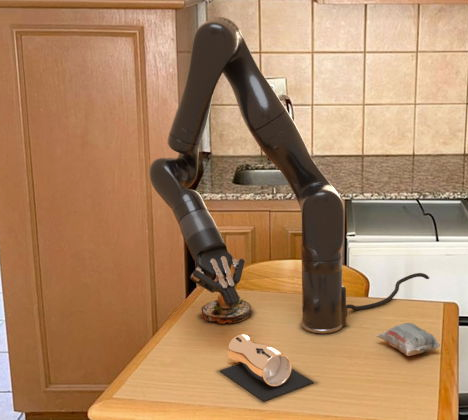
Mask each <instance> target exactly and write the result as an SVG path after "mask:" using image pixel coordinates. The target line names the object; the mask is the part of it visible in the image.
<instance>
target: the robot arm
mask: <svg viewBox="0 0 468 420" xmlns="http://www.w3.org/2000/svg"><path fill="white" fill-rule="evenodd" d="M189 61H190V62H189V67H188V71H187V77H186V81H185V85H184V88H183V90H182V91H183V92H182V94H181V97H180V100H179V103H178V106H177V109H176V112H175V115H174V116H173V117H174V118H173V120H172V123H171V126H170V130H169V132H168V133H169V134H168V136H167V145H168V147H169V148H170V149H171V150H172V151H174V152H176V153H178V155H177V157H158V158H156V159H154V160H153V161H152V162H151V164H150V166H149V169H148V177H149V181H150V183H151V186H152V187H153V189H154V190H155V192H156V194H158V196H159V197H161V199H162V200H163V201H164V202H165V204H166V205H167V206H168V207H169V208H170V209H171V211H172V213H173V215H174V218H175V220H176V222H177V224H178V227H179V229H180V233H181V236H182V238H183V240H184V242H185V244H186V246H187V248H188V252H189V253H190V255H191V257H192V259H193V261H194V262H195V263H194V264H195V270H193V272H192V273H191V275H190V276H189V279H190V280H191V281H192V282H194V283H195V284H197V285H199V286H200V287H202V288H203V289H205V290H207V291H208V292H210V293H212V294H214V293H219V295H220V294H221V295H222V298H223V300H224V302H225V304H226V305H227V306H229V308H232V307H235V306H237V305H238V304H239V300H241V299H240V298H239V297H240V296H239V294H238V291H237V290H236V287H237V285H238V284H239V283H240V282H241V279H242V275H243V272H244V271H243V270H244V266H245V259H243V258H240V259H237V258H234V257H233V255H232V254H231V253H230V252H229V251H228V248H227V244H226V242H225V240H224V238H223V236H222V234H221V232H220V230H219V228H218V226H217V224H216V221H215V219H214V218H213V216H212V215H211V213H210V211H209V209H208V208H207V206H206V203H205V202H204V199H203V197H202V196H201V194H200V193H199V191H197V190H195V189H191V188H190V187H192V185H194V183H195V182H196V180H197V177H198V170H199V151H200V145H201V143H202V140H203V137H204V134H205V131H206V128H207V124H208V121H209V117H210V112H211V106H212V103H213V102H212V101H213V97H214V94H215V90H216V87H217V85H218V83H219V80H220V78H221V76H222V74H223V76H224V77H225V78H226V80H227V82H228V83H229V86H230V88H231V90H232V91H233V94H234V97H235V101H236V103H237V106H238V109H239V111H240V115H241V117H242V120H243V122H244V124H245V126H246V127H247V129H248V131H249V133H250V134H251V136H252V138H253V139H254V140H255V142H256V143H257V145H258V147H259V148H260V149H261V151H262V152H263V153H264V155H265V156H266V157H267V158H268V159H269V161H270V162H271V163H272V164H273V166H275V167H276V168H277V169H278V170H279V171H280V172H281V174H282V175H283V177H284V178H285V180H286V182H287V183H288V184H289V186H290V189H291V191H292V192H293V194H294V196H295V198H296V201H297V202H298V205H299V209H300V212H301V245H300V248H301V249H300V250H301V251H300V252H301V253H300V254H301V255H300V256H301V311H302V312H301V313H302V316H301V319H302V321H301V327H302V329H304V330H305V331H307V332H309V333H313V334H331V333H336V332H338V331H340V330H341V329H342V328H344V327H347V317H348V310H349V309H350V310H352V311H362V310H369V309H372V308H376V307H379V306H382V305H384V304H387V303H388V302H391V300H393V299H394V297H395V296H396V295H397V293H398V292H399V290H400V286H401V284H403V283H405V282H407V281H409V280H411V279H414V278H424V279H425V280H429V279H430V276H429V275H427V274H426V273H424V272H416V273H412V274H409V275H407V276H405V277H401V278H400V279H398V280H397V281H396V283H395V285H394V289H393V291H392V292H391V293H390V294H389V296H387V297H386V298H384V299H382V300H379V301H377V302H373V303H370V304H363V305H354V304H347V288H346V286H344V285H343V247H344V243H345V241H344V240H345V238H344V235H345V233H344V232H345V209H344V204H343V203H344V202H343V200H342V198H341V196H340V194H339V193H338V191H337V190H336V188H335V187H334V186H333V185H332V184H331V182H330V181H329V180H328V178H327V177H326V176H325V174H324V173H323V172H322V171H321V170H320V168H319V167H318V166H317V164H316V163H315V161H314V159H313V158H312V156H311V153H310V152H309V149H308V147H307V144H306V143H305V140H304V138H303V135H302V134H301V132H300V130H299V128H298V126H297V124H296V123H295V121H294V119H293V118H292V116H291V115H290V113H289V111H288V110H287V108H286V106H285V105H284V103H283V102H282V101H281V99H280V97H279V96H278V94H277V93H276V91H275V90H274V88H273V87H272V85H271V83H270V82H269V81H268V79H267V78H266V77H265V75H264V73H262V71H261V70H260V67H259V66H258V64H257V63H256V60H255V58H254V56H253V55H252V52H251V50H250V48H249V46H248V44H247V41H246V39H245V38H244V36H243V34H242V32H241V30H240V28H239V27H238V25H237V24H236V23H235V22H234V21H233V20H231V19H229V18H227V17H224V16H214V17H211V18H209V19H207V20H206V21H205V22H203V23H202V24H200V26H198V27H197V29H196V30H195V32H194V35H193V40H192V45H191V53H190V60H189ZM231 269H232V270H234V271H233V273H232V271H231Z"/></svg>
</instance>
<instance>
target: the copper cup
mask: <svg viewBox="0 0 468 420" xmlns="http://www.w3.org/2000/svg"><path fill="white" fill-rule="evenodd" d="M227 356H228V357H229V359H230V361H232V362H233V363H236V364H242V365H243V366H244V367H245V368H246V370H247V371H248V372H249V373H250V374H251V375H252V376H253V377H255V378H256V379H258V380H259V381H261V382H263V383H265V384H268V385H269V386H272V387H276V386H280V385H282V384H283V383H284V382H285V381H286V380H287V379H288V378H289V376H290V373H291V368H292V367H293V365H292V362H291V359H290V357H288V356H287V355H286V354H284V353H283V352H281V350H279V349H277V348H276V347H274V346H271V345H269V344H265V343H260V342H256V341H255V340H254V339H252V337H250V336H249V335H247V334H243V333H242V334H238V335H236V336H234V337H233V338H232V339H231V340H230V342H229V344H228V346H227ZM292 369H293V368H292Z"/></svg>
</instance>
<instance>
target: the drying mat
mask: <svg viewBox="0 0 468 420" xmlns="http://www.w3.org/2000/svg"><path fill="white" fill-rule="evenodd" d="M219 372H220V373H221V374H222V375H224V376H226V377H227V378H228V379H230V380H231V381H233V382H234V383H235V384H237V385H239V386H240V387H241V388H243V389H244V390H246V392H249V393H250V394H252V395H253V396H254V397H256V398H257V399H258V400H260V401H262V402H264V403H265V402H267V401H271V400H273V399H275V398H278V397H280V396H281V397H282V396H284V395H286V394H289V393H292V392H294V391H297V390H299V389H302V388H305V387H308V386H310V385H313V384H314V383H315V382H314V380H311V379H310V378H308V377H307V376H305V375H303V374H301V373H300V372H298V371H297V370H295V369H293V368H291V373H290V376H289V378H288V379H287V380H286V381H285V382H284V383H283V384H282V385H280V386H276V387H272V386H269V385H268V384H265V383H263V382H261V381H259V380H258V379H256V378H255V377H253V376H252V375H251V374H250V373H249V372H248V371H247V370H246V368H245V367H244V366H243V365H242V364H239V363H236V364H234V365H231V366H227V367H226V368H223V369H220V370H219Z"/></svg>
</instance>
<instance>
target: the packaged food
mask: <svg viewBox="0 0 468 420" xmlns="http://www.w3.org/2000/svg"><path fill="white" fill-rule="evenodd" d="M376 337H377V338H378V339H381V340H383V342H384V343H385V344H387V345H388V346H391V347H393V348H395V349H397V350H398V351H399V352H401V353H403V354H404V355H406V356H407V357H410V356H415V355H419V354H420V355H421V354H424V353H427V352H431V351H434V350H436V349H438V348H440V347H441V345H440V343H439V342H438V340H437V339H436V337H435V336H434V334H431V333H430V332H428V331H426V330H424V329H422V328H420V327H419V326H417V325H416V324H415V323H413V322H405V323H404V322H403V323H401V324H398V325H395V326H393V327H390V328H389V329H387V330H386V331H385V332H382V333H379V334H376Z"/></svg>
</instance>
